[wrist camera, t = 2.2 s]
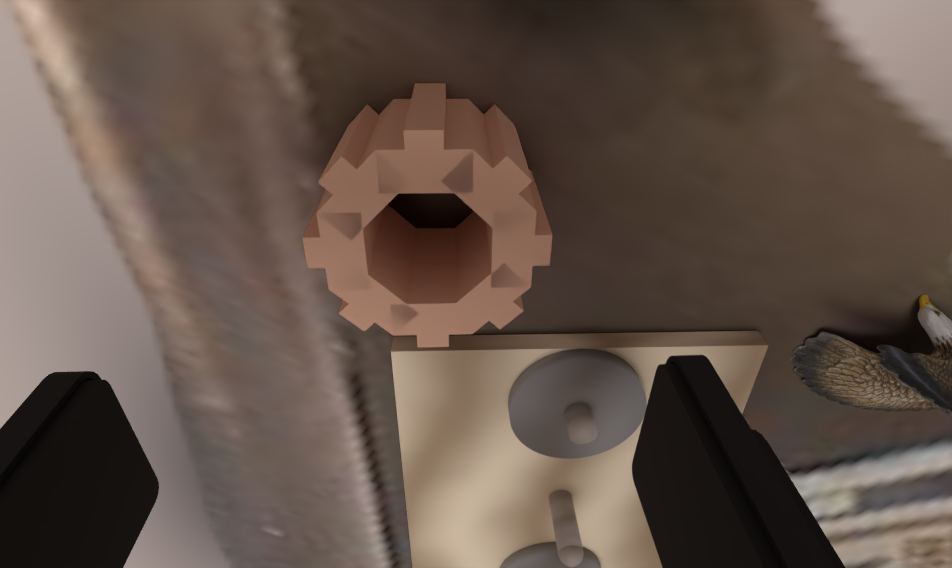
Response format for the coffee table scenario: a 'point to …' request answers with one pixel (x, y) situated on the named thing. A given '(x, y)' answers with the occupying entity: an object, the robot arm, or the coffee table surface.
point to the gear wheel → (429, 249)
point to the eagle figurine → (882, 369)
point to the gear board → (538, 443)
